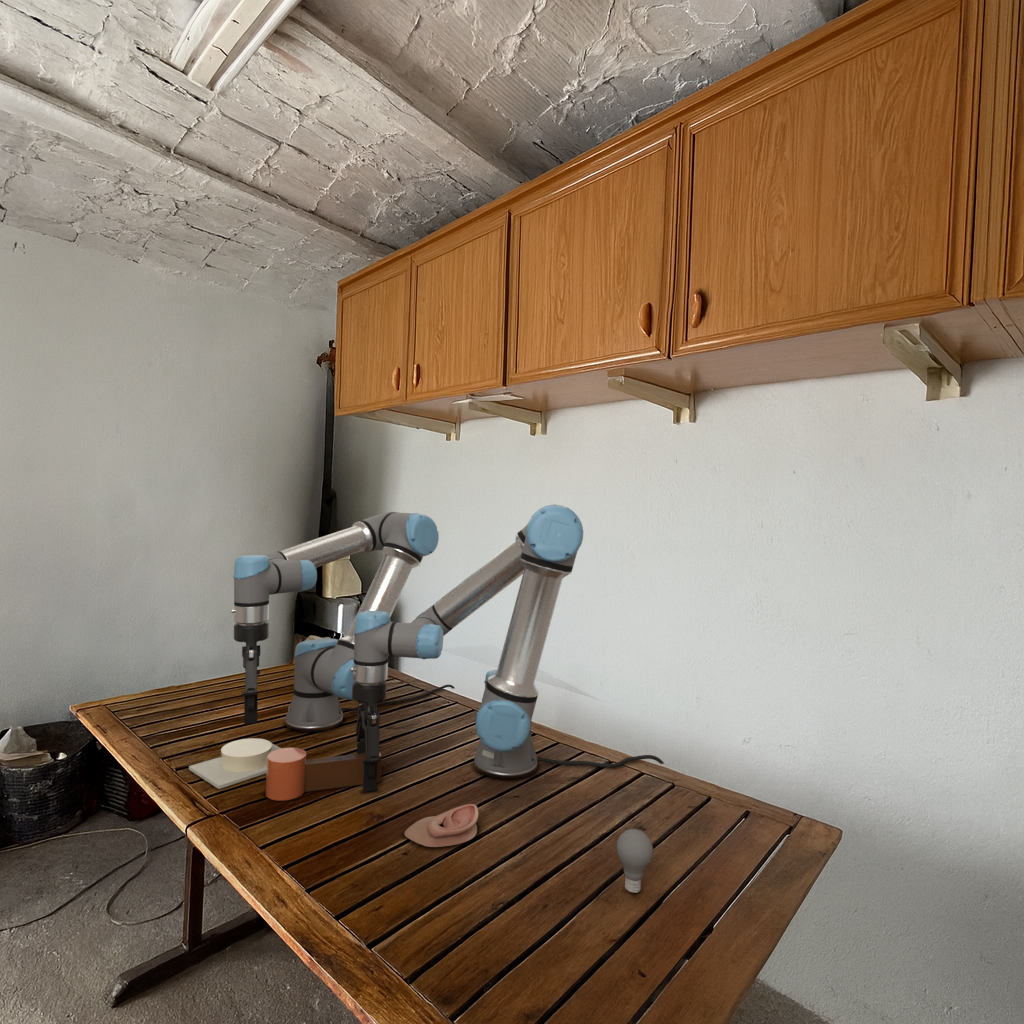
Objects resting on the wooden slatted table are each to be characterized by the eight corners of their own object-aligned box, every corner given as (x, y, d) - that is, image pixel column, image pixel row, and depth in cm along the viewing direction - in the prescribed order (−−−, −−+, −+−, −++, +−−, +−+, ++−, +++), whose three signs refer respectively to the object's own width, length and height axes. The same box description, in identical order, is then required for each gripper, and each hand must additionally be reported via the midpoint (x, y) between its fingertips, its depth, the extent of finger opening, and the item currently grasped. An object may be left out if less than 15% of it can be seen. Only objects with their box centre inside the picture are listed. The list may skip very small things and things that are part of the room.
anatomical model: (398, 821, 117) (420, 793, 128) (397, 842, 117) (419, 813, 128) (468, 831, 114) (483, 802, 126) (467, 853, 114) (482, 822, 126)
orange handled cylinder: (265, 803, 130) (267, 764, 130) (265, 786, 137) (266, 749, 137) (382, 787, 139) (384, 751, 139) (376, 772, 147) (377, 738, 146)
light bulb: (610, 879, 108) (613, 822, 108) (644, 879, 109) (647, 822, 109) (619, 902, 102) (622, 840, 102) (655, 901, 103) (658, 840, 103)
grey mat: (269, 745, 159) (269, 742, 159) (301, 761, 151) (301, 758, 151) (188, 769, 144) (188, 766, 144) (218, 789, 135) (218, 785, 135)
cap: (256, 748, 155) (256, 734, 155) (280, 762, 148) (281, 747, 148) (211, 762, 146) (211, 747, 146) (235, 776, 140) (236, 761, 139)
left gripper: (235, 612, 157) (234, 697, 158) (232, 635, 134) (231, 734, 135) (267, 611, 160) (267, 694, 161) (270, 633, 137) (269, 730, 137)
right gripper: (345, 669, 150) (342, 762, 151) (360, 697, 130) (356, 805, 130) (377, 667, 153) (373, 759, 153) (397, 694, 133) (392, 800, 133)
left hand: (250, 712), depth 148 cm, fingers open, 13 cm apart
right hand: (365, 780), depth 142 cm, fingers open, 9 cm apart
